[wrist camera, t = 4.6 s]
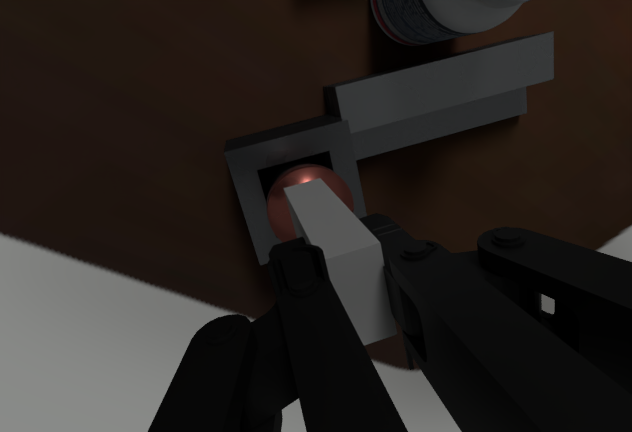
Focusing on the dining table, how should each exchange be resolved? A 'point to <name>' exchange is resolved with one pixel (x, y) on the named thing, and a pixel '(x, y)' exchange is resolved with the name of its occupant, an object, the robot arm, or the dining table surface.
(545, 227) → the dining table surface
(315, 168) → the plunger
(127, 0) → the dining table surface
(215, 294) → the dining table surface
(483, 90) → the socket
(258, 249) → the block
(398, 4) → the pill bottle
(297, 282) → the robot arm
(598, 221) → the dining table surface
